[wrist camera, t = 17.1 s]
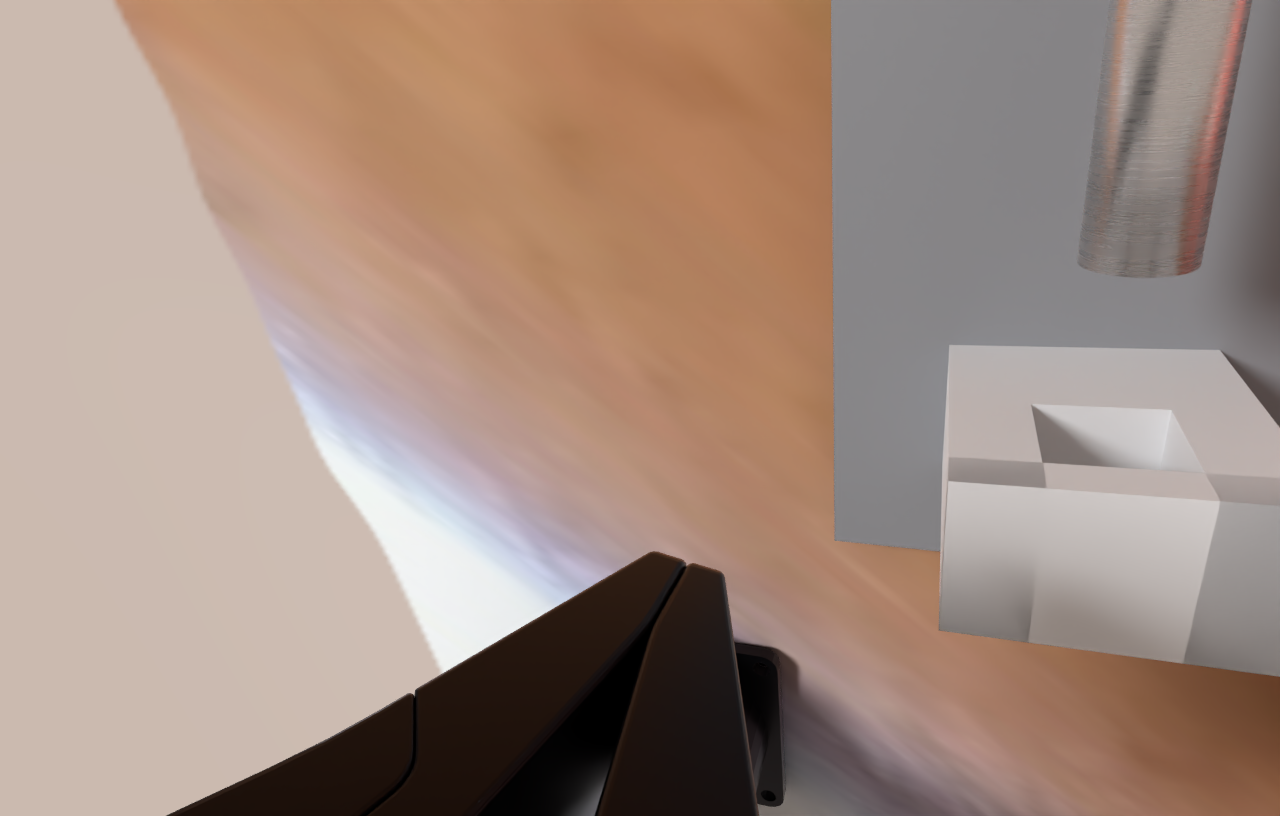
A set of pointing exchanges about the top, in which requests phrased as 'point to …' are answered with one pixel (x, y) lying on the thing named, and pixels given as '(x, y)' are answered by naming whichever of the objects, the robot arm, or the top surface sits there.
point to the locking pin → (1159, 134)
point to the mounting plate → (1050, 342)
